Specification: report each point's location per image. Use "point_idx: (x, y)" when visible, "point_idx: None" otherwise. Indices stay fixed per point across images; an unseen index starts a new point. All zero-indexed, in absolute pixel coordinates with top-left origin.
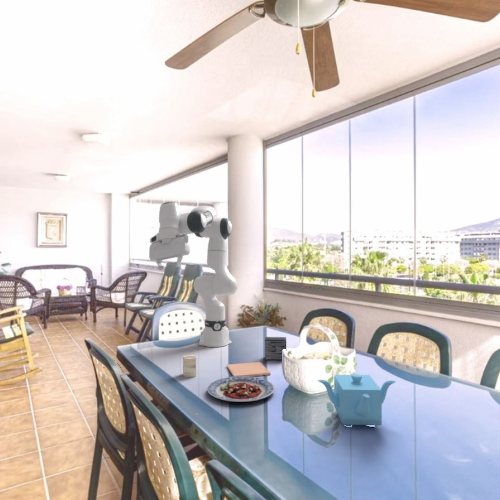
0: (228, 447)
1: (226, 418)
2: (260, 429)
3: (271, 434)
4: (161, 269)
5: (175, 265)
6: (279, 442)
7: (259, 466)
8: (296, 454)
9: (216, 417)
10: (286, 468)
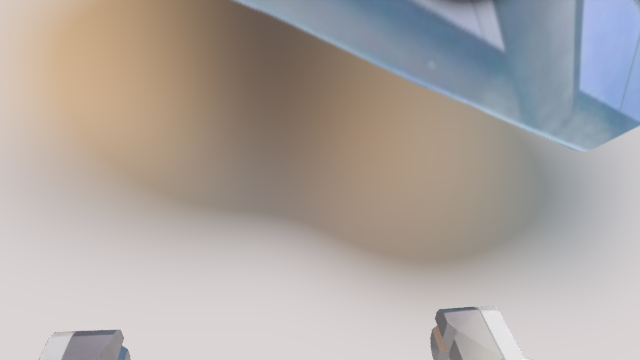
0: (520, 119)
1: (498, 48)
2: (567, 48)
3: (586, 52)
4: (121, 350)
5: (440, 355)
6: (598, 67)
7: (566, 128)
8: (619, 80)
9: (477, 56)
10: (600, 113)
